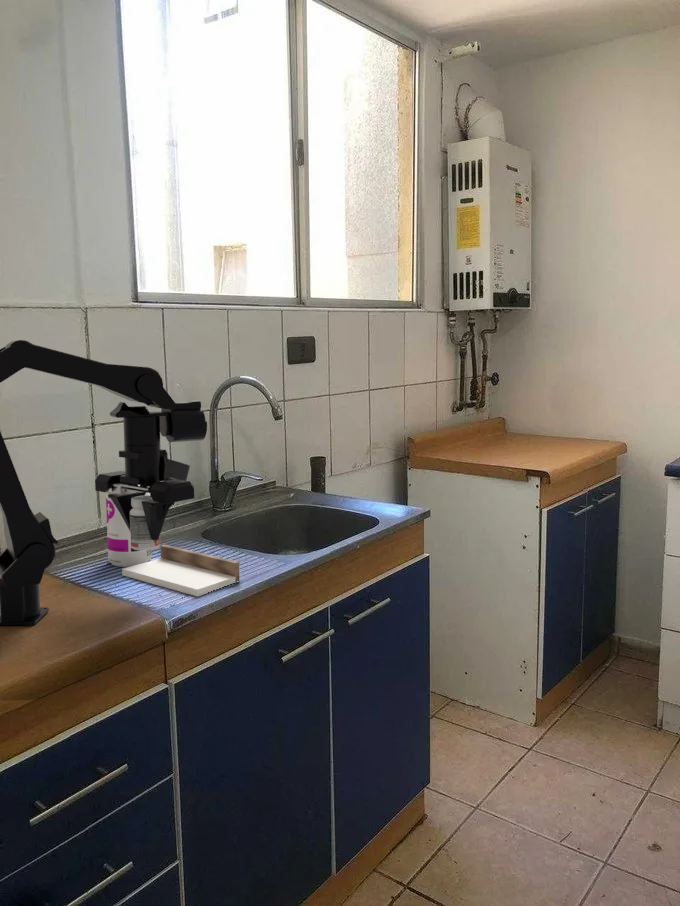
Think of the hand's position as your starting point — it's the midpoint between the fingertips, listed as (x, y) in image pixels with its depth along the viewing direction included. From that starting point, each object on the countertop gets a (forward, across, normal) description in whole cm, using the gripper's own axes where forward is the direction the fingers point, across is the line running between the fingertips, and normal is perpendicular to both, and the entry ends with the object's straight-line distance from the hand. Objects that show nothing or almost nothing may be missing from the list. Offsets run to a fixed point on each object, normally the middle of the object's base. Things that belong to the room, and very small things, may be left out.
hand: (145, 537), depth 121 cm
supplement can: (+10, +19, -11) cm, 24 cm away
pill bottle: (+2, 0, 0) cm, 2 cm away
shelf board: (+10, +3, -10) cm, 14 cm away
